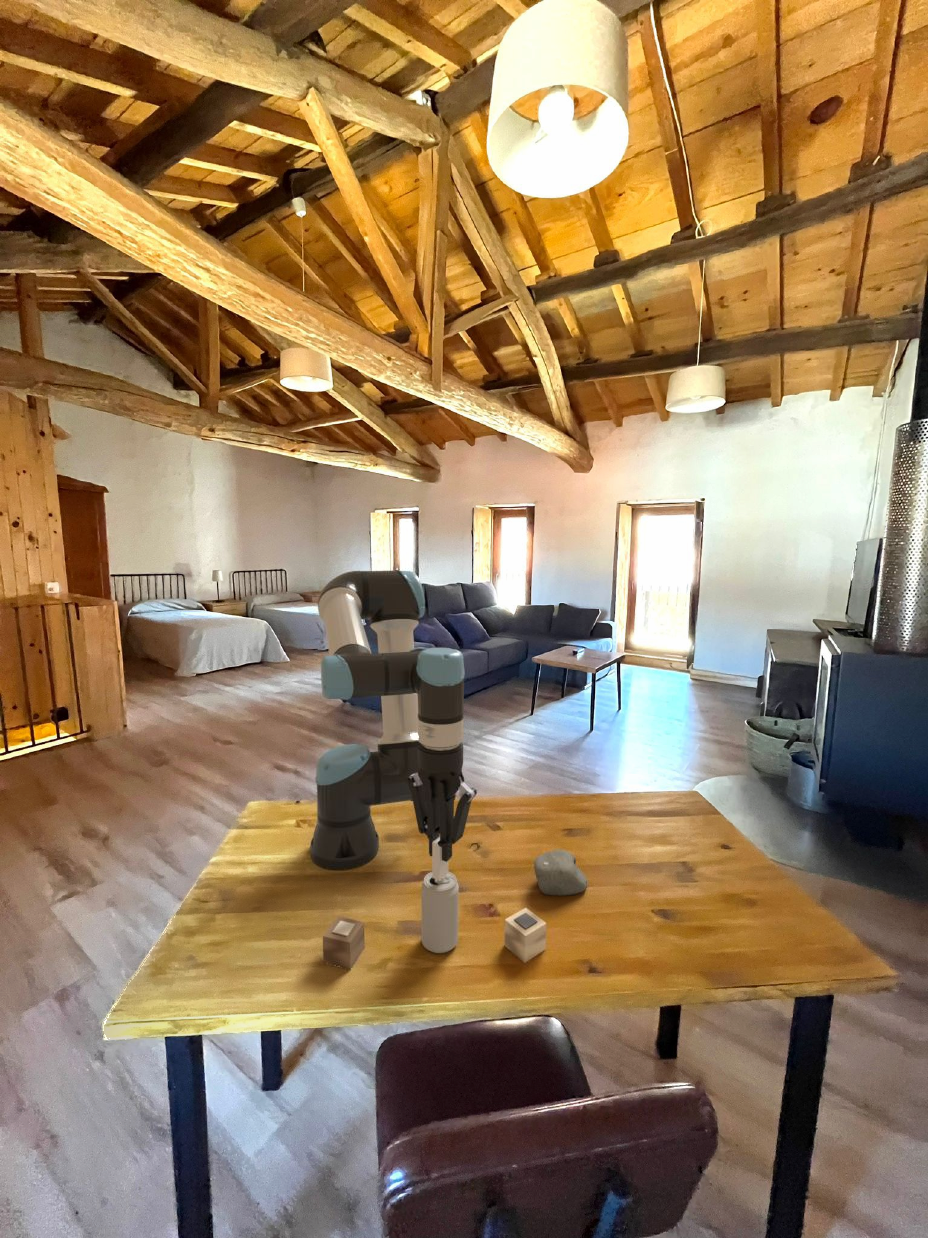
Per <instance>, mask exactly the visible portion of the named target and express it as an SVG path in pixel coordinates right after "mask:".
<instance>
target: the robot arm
mask: <svg viewBox="0 0 928 1238" xmlns="http://www.w3.org/2000/svg"><path fill="white" fill-rule="evenodd" d="M319 593H320V594H319V595H318V599H317V610H318V611H317V612H318V615H319V617H320V619H321V620H322V621H323V622H324V627H325V634H326V641H327V645H328V646H327V648H328V654H329V655H327V656H324V657H322V659H321V661H320V681H321V682H320V683H321V693H322V696H323V697H324V698H325V699H326V700H345V701H346V700H347V701H348V700H351V699H360V698H372V697H373V698H374V697H380V698H381V712H382V713H381V714H382V728H383V729H382V730H383V735H382V736H381V738H380V739H379V740H378V741H377V751H371V750H370V748H369V747H368V746H366V745H365V744H361V743H360V744H358V743H351V744H344V745H340V746H337V747H334V748H332V749H330V750H327V751H326V752H325V753H323V754H322V755H320V757H319V758H318V760H317V763H316V769H315V771H316V773H315V778H314V779H315V784H316V805H317V806H316V812H317V822H316V825H315V827H314V831H313V835H312V836H313V837H312V838H311V841H310V846H309V852H310V855H309V856H310V859H311V860H312V862H313V863H314V864H315V865H316V866H318V867H320V868H323V869H325V870H326V869H328V870H333V871H335V870H336V871H340V870H342V871H343V870H350V869H355V868H357V867H360V866H362V865H365V864H367V863H368V862H370V861H371V860H372V859H374V858H375V857H376V856H377V854H378V852H379V851H380V849H379V848H380V839H379V838H380V837H379V835H378V832H377V831H376V828H375V823H374V821H373V818H372V815H371V812H372V811H371V807H372V806H380V805H387V804H393V803H401V802H402V803H403V802H409V801H410V802H412V803H413V809H414V813H415V819H416V822H417V823H416V824H417V828H418V832H419V833H420V834H421V835H426V836H427V837H426V838H427V839H428V854H429V857H431V859H432V860H431V861H432V862H431V863H432V868H431V870H432V871H431V872H432V878H434V879H436V880H439V881H440V880H441V879H442V878H443V877H444V876H445V875H446V874H448V872H449V861H450V860H451V859H452V856H453V845H455V844H456V843H458V841H460V839H462V838H463V837H464V832H465V828H466V825H467V820H468V816H469V812H470V808H471V803H472V801H473V800H474V798H475V797H476V795H477V793H478V790H477V789H476V787H472V788H470V787H469V786H468V785H467V784H466V783H465V777H464V773H463V765H464V744H463V742H464V708H465V707H464V704H465V703H464V700H465V698H464V697H465V696H464V694H465V693H464V692H465V691H464V690H465V686H464V685H465V673H466V670H465V666H464V665H465V664H464V663H465V662H464V654H463V653H462V652H461V651H460V650H458V649H456V648H454V649H453V648H450V647H431V648H427V647H423V646H422V647H421V646H419V647H415V639H414V638H415V637H414V630H415V629H416V628H417V626H419V623H420V622H419V619H421V618H423V617H424V615H425V610H426V607H425V595H424V594H425V593H424V588H423V586H422V582H421V579H420V578H419V577H418V575H417V574H416V573H415V572H414V571H410V570H399V569H395V570H394V569H393V570H352V571H347V572H343V573H341V574H340V575H337V576H336V577H334V578H333V579H331V580H330V581H329V582H328V583H327V584H326V585H325V586H324V587H323V588H322V590H321V592H319ZM363 620H369V627H370V628H371V629H372V630H373V631H374V632H375V633H376V634H377V649H378V653H372V650H371V647H370V643H369V641H368V637H367V634H366V630H365V627H364V626H365V625H364V623H363ZM458 791H459V793H458ZM457 793H458V799H459V800H458V801H457V804H456V808H455V801H456V797H457V796H456V794H457ZM455 809H456V810H455Z"/></svg>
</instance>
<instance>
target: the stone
mask: <svg viewBox="0 0 928 1238" xmlns="http://www.w3.org/2000/svg"><path fill="white" fill-rule="evenodd" d="M576 863H577V859H576V857H575V855H574V854H573V853H572V852H570V851H568V850H565V849H559V848H558V849H554V850H551V851H547V852H544V853H543V854H540V855H538V856H537V857H536V858H535V859H534V861H533V866H534V867H533V868H534V874H535V877H536V881H537V884H538V888H539V889H540V891H541V893H543V894H545V895H548V896H573V895H576V894H581V893H583V892H586V889H587V887H589V883H588V879H587V877H586V875H585V874H584V872H583V870H582V869H580V868H579V867H578V866H577V864H576Z"/></svg>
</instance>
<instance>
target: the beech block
mask: <svg viewBox="0 0 928 1238" xmlns="http://www.w3.org/2000/svg"><path fill="white" fill-rule="evenodd" d="M546 943H547V923H546V922H545V921H544V920H543V919H541V918H540V917H539V916H537V915H536V914H534V912H532V911H531V910H530V909H528V908H527V907H524V908H523V909H521V910H519V911H518V912H516V913H514V914H512V915H510V916H509V917H507V918H505V919H504V943H503V944H504V947H506V948H507V949H508V950H509V951H510V952H512V954H514V955H515V956H516V957H517V958H518V959H519V960H521V961H522V962H523V963H524V964H526V963H527V962H529V961H530V960H532V959H533V958H534V957H536V956H538V955H539V954H541V953H542V952H544V951H545V950H546V948H547V945H546Z"/></svg>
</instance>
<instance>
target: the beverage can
mask: <svg viewBox="0 0 928 1238" xmlns="http://www.w3.org/2000/svg"><path fill="white" fill-rule="evenodd" d="M459 891H460V887H459V883H458V880H457V877H456V875H455V874H454V873H453V872H451V871H448V874H446V875H445V876H444V877H443V878H442V879H441V880H440V881H439V880H436V879H434V878H432V871H430V872H428V873H427V874H426V875H425V876H424V878H423V882H422V885H421V931H420V932H421V936H420V937H421V943H422V946H423V947H424V948H425V949H426V950H427V951H428V952H429V951H430V952H432V953H435V954H444V953H447V952H449V951H451V950H453V949H454V948H455V947H456V946H457V944H458V941H459V899H460V898H459Z"/></svg>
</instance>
